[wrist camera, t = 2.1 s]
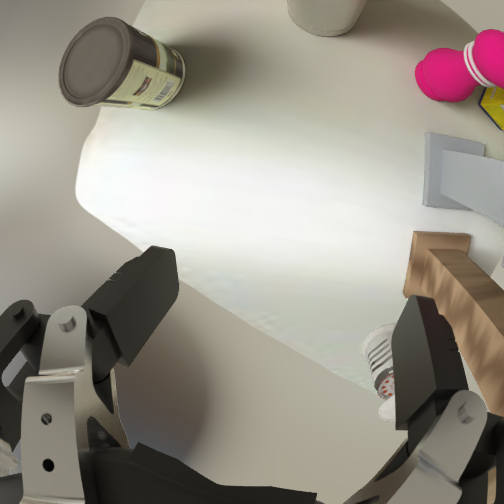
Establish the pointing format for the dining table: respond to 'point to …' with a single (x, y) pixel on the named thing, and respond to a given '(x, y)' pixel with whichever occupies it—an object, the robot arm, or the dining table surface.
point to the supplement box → (493, 104)
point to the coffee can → (119, 68)
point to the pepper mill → (463, 68)
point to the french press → (381, 367)
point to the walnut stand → (463, 305)
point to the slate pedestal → (463, 177)
